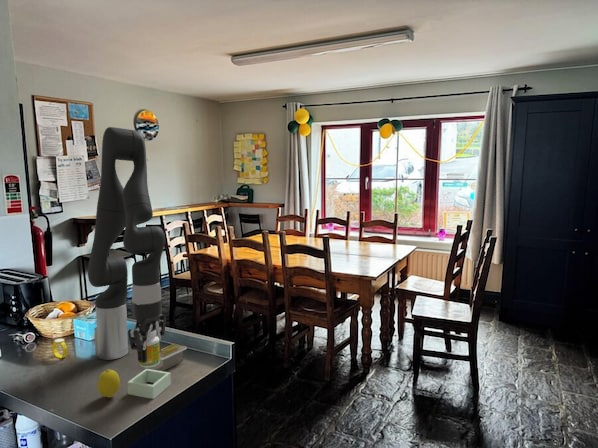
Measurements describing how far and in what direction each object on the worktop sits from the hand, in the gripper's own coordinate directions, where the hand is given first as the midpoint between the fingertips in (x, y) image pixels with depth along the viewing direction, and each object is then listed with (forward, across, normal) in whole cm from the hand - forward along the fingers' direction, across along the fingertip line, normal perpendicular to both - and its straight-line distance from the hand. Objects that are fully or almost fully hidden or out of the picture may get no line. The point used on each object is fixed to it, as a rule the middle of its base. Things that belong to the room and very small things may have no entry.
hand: (149, 357), depth 115 cm
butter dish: (+10, -14, -3) cm, 18 cm away
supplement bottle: (+2, 0, 0) cm, 2 cm away
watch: (+9, -9, -41) cm, 43 cm away
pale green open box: (+9, 0, 0) cm, 9 cm away
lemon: (+10, +7, -8) cm, 14 cm away
